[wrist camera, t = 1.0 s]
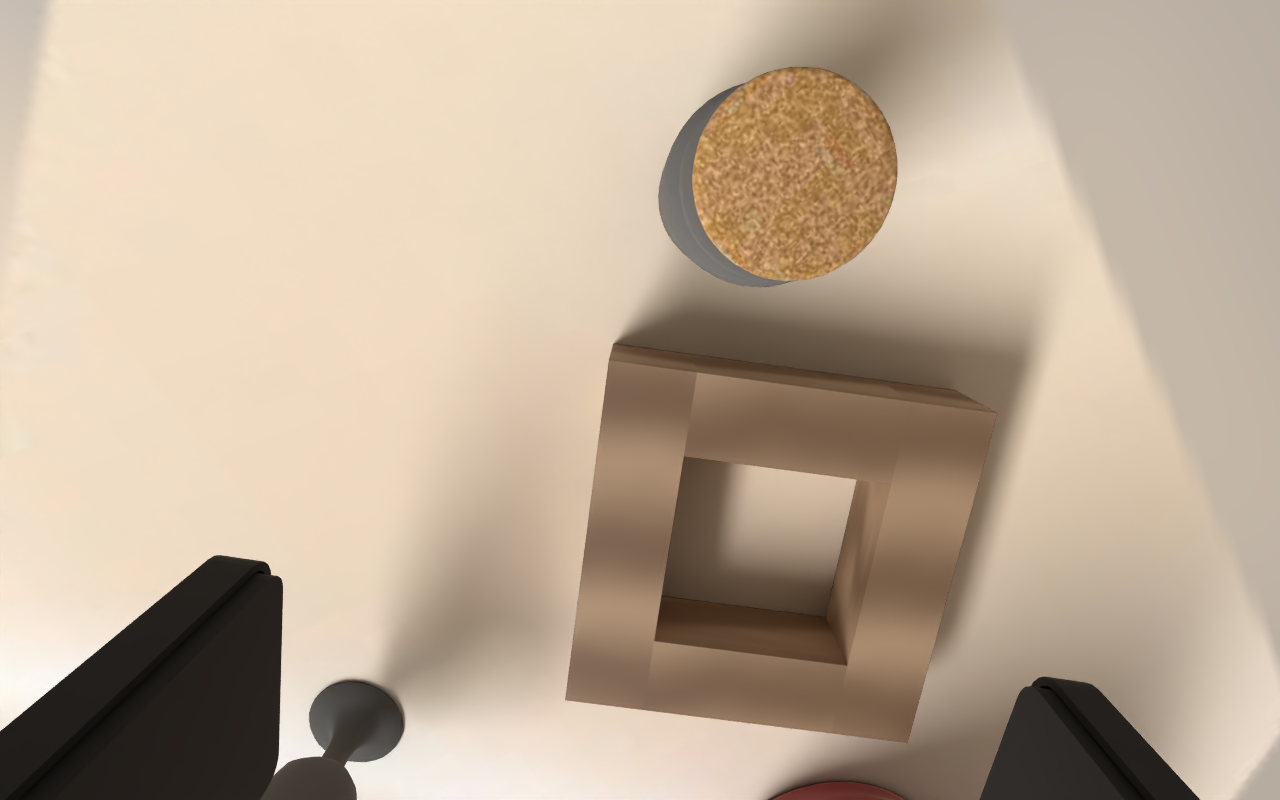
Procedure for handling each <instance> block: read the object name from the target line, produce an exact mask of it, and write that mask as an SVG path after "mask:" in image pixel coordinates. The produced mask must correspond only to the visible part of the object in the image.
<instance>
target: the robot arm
mask: <svg viewBox="0 0 1280 800" xmlns="http://www.w3.org/2000/svg"><path fill="white" fill-rule="evenodd" d="M282 608H283V583H282V580H281V578H280V577H278V576H273V575H271V570H270V568H269V565H268V564H267V563H265V562H263V561H256V560H249V559H242V558H235V557H229V556H222V555H217V556H213V557H212V558H210V559H208V560H207V561H206V562H205V563H203V564H202V565H201V566H200V567H199V568H197V569H196V570H195V571H194V572H193V573H191V574H190V575H189V576H188V577H186V578H185V579H184V580H183V581H182V582H180V583H179V584H178V585H177V586H176V587H174V588H173V589H172V590H171V591H170V592H168V593H167V594H166V595H165V596H163V597H162V598H161V599H160V600H159V601H157V602H156V603H155V604H154V605H153V606H151V607H150V608H149V609H148V610H147V611H145V612H144V613H143V614H142V615H140V616H139V617H138V618H137V619H136V620H134V621H133V622H132V623H131V624H130V625H128V626H127V627H126V628H125V629H124V630H122V631H121V632H120V633H119V634H117V635H116V636H115V637H114V638H113V639H111V640H110V641H109V642H108V643H107V644H105V645H104V646H103V647H102V648H101V649H99V650H98V651H97V652H96V653H94V654H93V655H92V656H91V657H90V658H88V659H87V660H86V661H85V662H84V663H82V664H81V665H80V666H79V667H78V668H76V669H75V670H74V671H73V672H71V673H70V674H69V675H68V676H67V677H65V678H64V679H63V680H62V681H61V682H59V683H58V684H57V685H56V686H55V687H53V688H52V689H51V690H50V691H48V692H47V693H46V694H45V695H44V696H42V697H41V698H40V699H39V700H38V701H36V702H35V703H34V704H33V705H32V706H30V707H29V708H28V709H27V710H25V711H24V712H23V713H22V714H21V715H19V716H18V717H17V718H16V719H15V720H13V721H12V722H11V723H10V724H9V725H7V726H6V727H5V728H4V729H2V730H1V731H0V800H260V799H261V797H262V796H263V794H264V793H265V791H266V790H267V788H268V786H269V784H270V782H271V780H272V777H273V775H274V772H275V769H276V766H277V761H278V755H279V724H280V685H281V646H282ZM980 800H1200V799H1199V798H1198V797H1197V796H1196V795H1195V794H1194V793H1193V792H1192V790H1191V789H1190V788H1189V787H1188V786H1187V785H1186V784H1185V783H1184V782H1183V781H1182V780H1181V779H1180V777H1179V776H1178V775H1177V774H1176V773H1175V772H1174V771H1173V770H1172V769H1171V768H1170V767H1169V766H1168V764H1167V763H1166V762H1165V761H1164V760H1163V759H1162V758H1161V757H1160V756H1159V755H1158V754H1157V752H1156V751H1155V750H1154V749H1153V748H1152V747H1151V746H1150V745H1149V744H1148V743H1147V742H1146V741H1145V739H1144V738H1143V737H1142V736H1141V735H1140V734H1139V733H1138V732H1137V731H1136V730H1135V729H1134V728H1133V726H1132V725H1131V724H1130V723H1129V722H1128V721H1127V720H1126V719H1125V718H1124V717H1123V716H1122V715H1121V713H1120V712H1119V711H1118V710H1117V709H1116V708H1115V707H1114V706H1113V705H1112V704H1111V703H1110V702H1109V700H1108V699H1107V698H1106V697H1105V696H1104V695H1103V694H1102V693H1101V692H1100V691H1099V690H1098V689H1097V688H1096V687H1094V686H1093V685H1091V684H1088V683H1085V682H1078V681H1071V680H1064V679H1057V678H1051V677H1041V678H1038V679H1037V680H1036V681H1034V682H1033V684H1032V686H1029V687H1025V688H1023V689H1022V690H1021V692H1020V693H1019V695H1018V698H1017V700H1016V703H1015V706H1014V708H1013V711H1012V714H1011V716H1010V719H1009V722H1008V725H1007V727H1006V730H1005V733H1004V735H1003V738H1002V741H1001V744H1000V746H999V749H998V752H997V754H996V757H995V760H994V763H993V765H992V768H991V771H990V773H989V776H988V779H987V781H986V784H985V787H984V790H983V792H982V795H981V798H980Z"/></svg>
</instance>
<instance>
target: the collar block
mask: <svg viewBox="0 0 1280 800" xmlns="http://www.w3.org/2000/svg"><path fill="white" fill-rule="evenodd" d="M996 417H997V413H996V412H994V411H992V410H990V409H988V408H986V407H985V406H983V405H981V404H979V403H977V402H976V401H974V400H972V399H970V398H968V397H966V396H965V395H963V394H961V393H959V392H957V391H955V390H947V389H940V388H933V387H925V386H918V385H911V384H904V383H896V382H889V381H882V380H874V379H867V378H860V377H853V376H845V375H838V374H831V373H823V372H816V371H809V370H801V369H794V368H787V367H780V366H772V365H765V364H758V363H750V362H743V361H736V360H729V359H721V358H714V357H707V356H699V355H692V354H685V353H678V352H670V351H663V350H656V349H648V348H641V347H634V346H627V345H619V344H613V347H612V351H611V355H610V358H609V364H608V372H607V379H606V387H605V395H604V403H603V410H602V418H601V426H600V434H599V442H598V449H597V457H596V465H595V473H594V480H593V488H592V496H591V504H590V512H589V519H588V527H587V535H586V543H585V550H584V558H583V566H582V574H581V582H580V589H579V597H578V605H577V613H576V620H575V628H574V636H573V644H572V652H571V659H570V667H569V675H568V683H567V691H566V698H565V700H568V701H576V702H584V703H592V704H600V705H608V706H616V707H624V708H632V709H640V710H648V711H656V712H664V713H672V714H680V715H688V716H696V717H704V718H713V719H721V720H729V721H737V722H745V723H753V724H761V725H769V726H777V727H785V728H793V729H801V730H809V731H817V732H825V733H833V734H841V735H849V736H857V737H865V738H873V739H881V740H889V741H897V742H905V743H908V740H909V736H910V732H911V729H912V725H913V721H914V718H915V714H916V710H917V707H918V703H919V699H920V696H921V692H922V688H923V685H924V681H925V677H926V674H927V670H928V666H929V663H930V659H931V655H932V652H933V648H934V644H935V641H936V637H937V633H938V630H939V626H940V622H941V619H942V615H943V611H944V608H945V604H946V600H947V597H948V593H949V589H950V586H951V582H952V578H953V575H954V571H955V567H956V564H957V560H958V556H959V553H960V549H961V545H962V542H963V538H964V534H965V531H966V527H967V523H968V520H969V516H970V512H971V509H972V505H973V501H974V498H975V494H976V490H977V487H978V483H979V480H980V476H981V472H982V469H983V465H984V461H985V458H986V454H987V450H988V447H989V443H990V439H991V436H992V432H993V428H994V425H995V421H996ZM684 456H685V457H693V458H700V459H708V460H715V461H723V462H730V463H738V464H745V465H753V466H760V467H768V468H775V469H783V470H790V471H798V472H805V473H813V474H820V475H828V476H835V477H842V478H850V479H857V481H856V486H855V490H854V495H853V499H852V504H851V508H850V512H849V517H848V521H847V526H846V530H845V534H844V539H843V543H842V548H841V552H840V556H839V561H838V565H837V570H836V574H835V578H834V583H833V587H832V592H831V596H830V600H829V605H828V609H827V614H826V617H819V616H811V615H803V614H796V613H788V612H780V611H772V610H764V609H757V608H749V607H741V606H733V605H726V604H718V603H710V602H702V601H694V600H687V599H679V598H671V597H663V596H661V595H662V589H663V583H664V576H665V570H666V564H667V558H668V551H669V545H670V539H671V533H672V527H673V520H674V514H675V508H676V502H677V496H678V489H679V483H680V477H681V471H682V464H683V458H684Z"/></svg>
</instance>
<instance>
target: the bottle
mask: <svg viewBox="0 0 1280 800" xmlns="http://www.w3.org/2000/svg"><path fill="white" fill-rule="evenodd" d="M896 182H897V156H896V149H895V143H894V140H893V137H892V133H891V130H890V127H889V125H888V123H887V121H886V119H885V117H884V115H883V113H882V112H881V110H880V109H879V107H878V106H877V105H876V104H875V102H874V101H873V100H872V99H871V98H870V97H869V95H868V94H867V93H866V92H864V91H863V90H862V89H861V88H860V87H858V86H857V85H856V84H854V83H852V82H851V81H849V80H847V79H846V78H844V77H842V76H840V75H838V74H835V73H833V72H830V71H827V70H823V69H819V68H808V67H789V68H784V69H779V70H774V71H771V72H767V73H764V74H762V75H760V76H758V77H756V78H754V79H752V80H751V81H749V82H747V83H744V84H741V85H738V86H735V87H732V88H730V89H728V90H725V91H723V92H721V93H720V94H718V95H716V96H715V97H713V98H712V99H710V100H708V101H707V102H706V103H705V104H704V105H703V106H702V107H701V108H699V109H698V110H697V111H696V112H695V113H694V114H693V115H692V116H691V118H690V119H689V120H688V121H687V123H686V124H685V125H684V126H683V128H682V130H681V131H680V133H679V134H678V136H677V138H676V140H675V142H674V144H673V145H672V148H671V151H670V153H669V156H668V158H667V161H666V164H665V167H664V170H663V173H662V177H661V181H660V186H659V196H658V197H659V210H660V215H661V219H662V222H663V225H664V227H665V229H666V231H667V233H668V235H669V237H670V238H671V240H672V241H673V242H674V244H675V245H676V246H677V247H678V248H679V249H680V250H681V251H682V252H683V253H684V254H685V255H686V256H687V257H689V258H690V259H691V260H692V261H693V262H695V263H696V264H697V265H698V266H700V267H701V268H702V269H704V270H706V271H707V272H709V273H711V274H712V275H714V276H716V277H718V278H720V279H723V280H725V281H727V282H730V283H734V284H738V285H742V286H752V287H769V286H775V285H781V284H784V283H787V282H790V281H795V280H806V279H810V278H814V277H818V276H822V275H825V274H827V273H829V272H831V271H833V270H835V269H837V268H839V267H841V266H842V265H844V264H846V263H847V262H849V261H850V260H852V259H853V258H855V257H856V256H857V255H858V254H859V253H860V252H861V251H862V250H863V249H864V248H865V247H866V246H867V245H868V244H869V243H870V242H871V241H872V239H873V238H874V236H875V235H876V234H877V232H878V231H879V229H880V228H881V226H882V224H883V222H884V220H885V218H886V216H887V214H888V212H889V209H890V207H891V204H892V201H893V197H894V193H895V188H896Z"/></svg>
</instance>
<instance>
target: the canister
mask: <svg viewBox="0 0 1280 800" xmlns="http://www.w3.org/2000/svg"><path fill="white" fill-rule="evenodd" d="M773 800H906V799H904V798H903V797H901V796H899V795H897V794H895V793H893V792H890V791H888V790H885V789H882V788H879V787H876V786H872V785H867V784H862V783H854V782H828V783H820V784H814V785H809V786H805V787H802V788H798V789H795V790H792V791H790V792H787V793H785V794H783V795H781V796H779V797H777V798H775V799H773Z"/></svg>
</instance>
